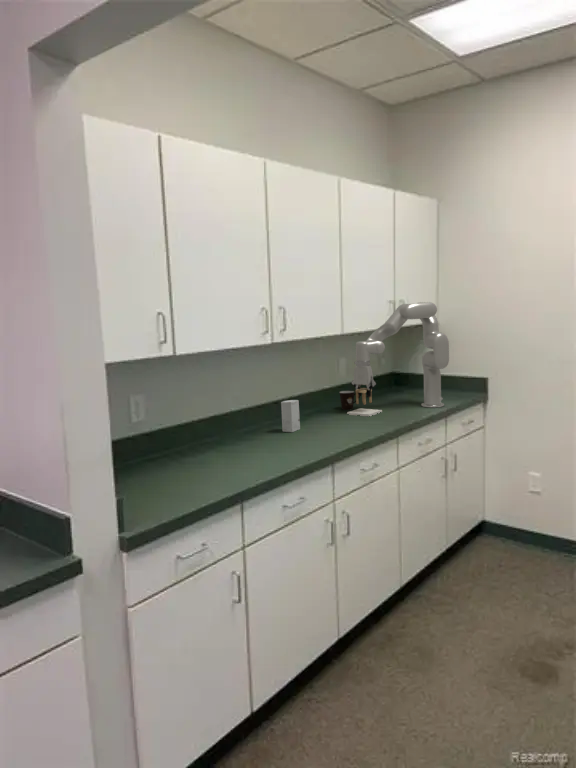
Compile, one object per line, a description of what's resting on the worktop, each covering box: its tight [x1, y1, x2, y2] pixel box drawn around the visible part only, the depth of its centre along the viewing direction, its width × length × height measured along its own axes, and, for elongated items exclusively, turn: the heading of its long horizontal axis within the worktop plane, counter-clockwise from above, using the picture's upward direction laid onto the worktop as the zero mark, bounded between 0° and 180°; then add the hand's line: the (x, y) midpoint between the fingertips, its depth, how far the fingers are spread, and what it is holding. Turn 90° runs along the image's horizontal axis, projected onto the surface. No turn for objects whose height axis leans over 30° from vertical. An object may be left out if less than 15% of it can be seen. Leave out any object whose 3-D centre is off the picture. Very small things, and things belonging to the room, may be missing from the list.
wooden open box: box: [355, 387, 373, 406], centre depth 324 cm, size 6×8×8 cm
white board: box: [346, 408, 383, 417], centre depth 325 cm, size 14×14×1 cm
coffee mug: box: [339, 390, 361, 411], centre depth 340 cm, size 12×9×10 cm
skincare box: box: [280, 399, 301, 433], centre depth 288 cm, size 8×6×15 cm
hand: (363, 396), depth 324 cm, fingers closed on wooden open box, 5 cm apart
